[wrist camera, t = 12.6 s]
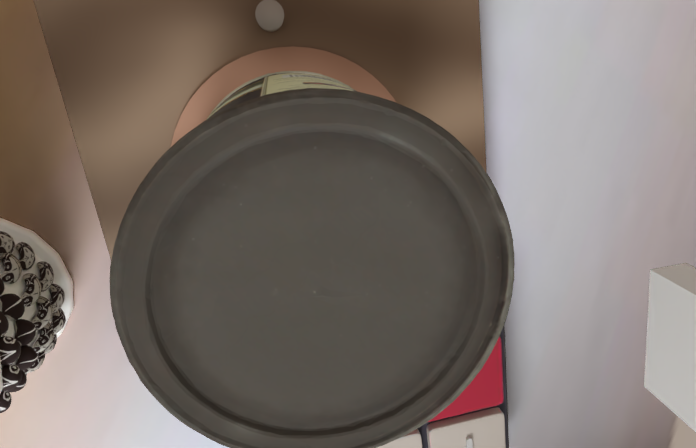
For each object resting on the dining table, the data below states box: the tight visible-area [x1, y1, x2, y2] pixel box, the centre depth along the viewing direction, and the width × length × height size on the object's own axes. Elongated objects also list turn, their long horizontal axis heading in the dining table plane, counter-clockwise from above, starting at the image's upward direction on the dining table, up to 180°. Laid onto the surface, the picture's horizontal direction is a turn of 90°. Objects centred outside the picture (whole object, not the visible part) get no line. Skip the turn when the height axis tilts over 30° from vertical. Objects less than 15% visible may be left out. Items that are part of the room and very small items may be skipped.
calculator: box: [377, 326, 509, 448], centre depth 32 cm, size 11×4×15 cm
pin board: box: [33, 0, 486, 260], centre depth 26 cm, size 20×20×4 cm
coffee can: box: [110, 71, 514, 448], centre depth 20 cm, size 10×10×14 cm
